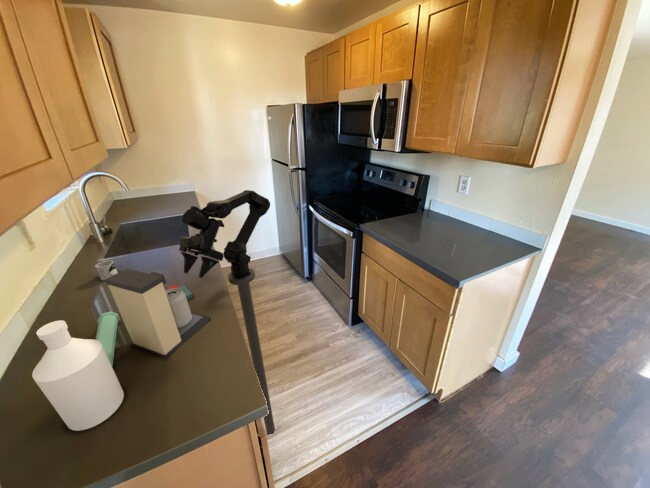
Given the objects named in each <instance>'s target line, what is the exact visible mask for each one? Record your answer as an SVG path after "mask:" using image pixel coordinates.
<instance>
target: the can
mask: <svg viewBox="0 0 650 488" xmlns="http://www.w3.org/2000/svg"><path fill="white" fill-rule="evenodd" d="M166 290H167V291H166ZM166 290H165V292H166V295H167V298H168V301H169V304H170V307H171V310H172V313H173V316H174V319H175V322H176V326H177V328H181V327H184V326H186V325H187V324H188V323H189V322H190V321H191V319H192V315H191V312H192V311H191V309H190V304H189V302H188V300H187V298H186V295H185V292H183V291H182V290H181V289H179V288H173V289H169V290H168V289H166Z"/></svg>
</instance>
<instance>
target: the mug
mask: <svg viewBox="0 0 650 488" xmlns="http://www.w3.org/2000/svg"><path fill="white" fill-rule="evenodd" d="M94 267H95V269H96V271H97V274H98V276H99V279H100V280H101V281H105V280H104V279H106V278H109V277H111V276H113V275H115V274H117V273H119V272H118V269H117V268H116V265H115V262H114V260H111V259H109V260H103V261H100V262H98V263H96V264H95V265H94Z"/></svg>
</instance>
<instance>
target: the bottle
mask: <svg viewBox="0 0 650 488" xmlns="http://www.w3.org/2000/svg"><path fill="white" fill-rule="evenodd" d="M68 328H69V326H68V324H67V322H66V321H65V320H62V319H61V320H54V321H51V322H49V323H46V324H44V325H42V326H41V327H39V328H38V329H37V330H36V335H37V337H38V339H39V340H40V341H42V342H43V343H44V344H45V346H46V347H47V349H46V351H45V353H44V354H43V355H42V357H41V359H40V360H39V362H38V363H37V364H36V365H35V367H34V368H33V371H32V373H31V376H32V379H33V380H34V382H35V383H36V385H37V386H38V388H39V389H40V390H41V392H42V393H43V395H44V396H45V397H46V399H47V400H48V402H49V403H50V404H51V405H52V407H53V409H54V410H55V411H56V412H57V414H58V415H59V417H60V419H62V421H63V422H64V424H65V425H66V426H67V428H68V429H70V430H72V431H76V432H79V431H85V430H88V429H89V430H90V429H91V428H94V427H96V426H98V425H99V424H102V423H103V422H104V421H106V420H107V419H109V418H110V417H111V416H112V415H113V414H114V413H116V411H117V410H118V409H119V408H120V406H121V404H122V403H123V400H124V397H125V393H124V390H123V387H122V386H121V383H120V382H119V379H118V376H117V374H116V372H115V370H114V368H113V366H111V364H110V361H109V359H108V357H107V355H106V353H105V350H104V348H103V346H102V344H101V343H100V341H98V340H96V339H93V338H77V337H72V336H71V334H70V332H69V330H68Z"/></svg>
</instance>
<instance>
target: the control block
mask: <svg viewBox="0 0 650 488" xmlns="http://www.w3.org/2000/svg"><path fill="white" fill-rule="evenodd" d="M177 286H178V287H179V289H181V290H182V291H183V292H185V295H186V298H187V301H188V300H191V299H193V298H194V295H193V293H192V292H191V291H190V289H189V288H188V287H187V286H186V285H182V286H180V285H177ZM167 290H168V289H165V291H167Z"/></svg>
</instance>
